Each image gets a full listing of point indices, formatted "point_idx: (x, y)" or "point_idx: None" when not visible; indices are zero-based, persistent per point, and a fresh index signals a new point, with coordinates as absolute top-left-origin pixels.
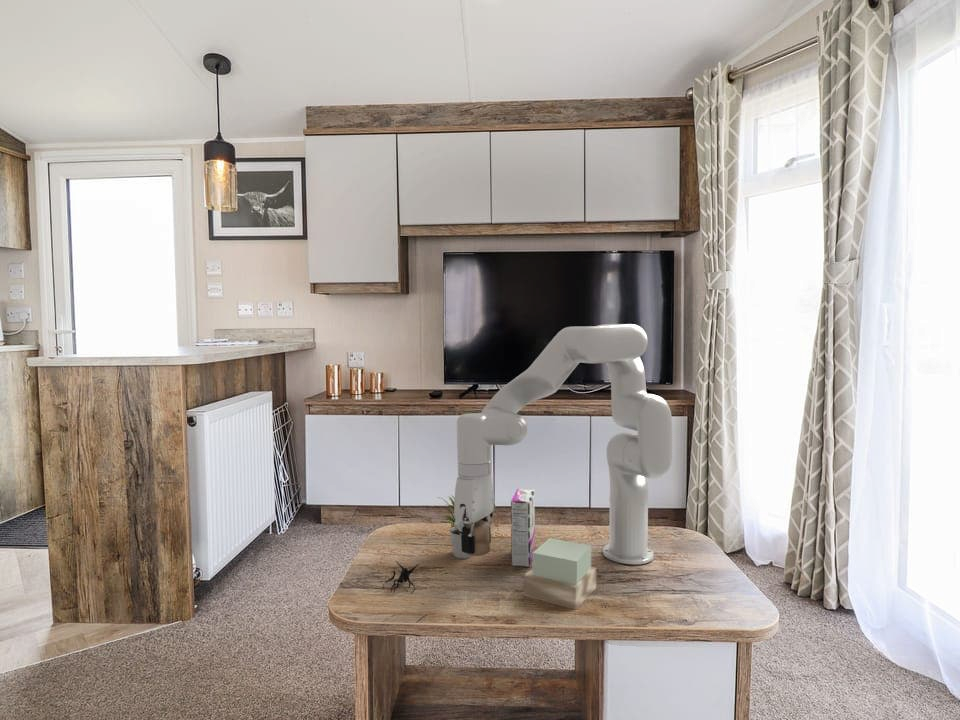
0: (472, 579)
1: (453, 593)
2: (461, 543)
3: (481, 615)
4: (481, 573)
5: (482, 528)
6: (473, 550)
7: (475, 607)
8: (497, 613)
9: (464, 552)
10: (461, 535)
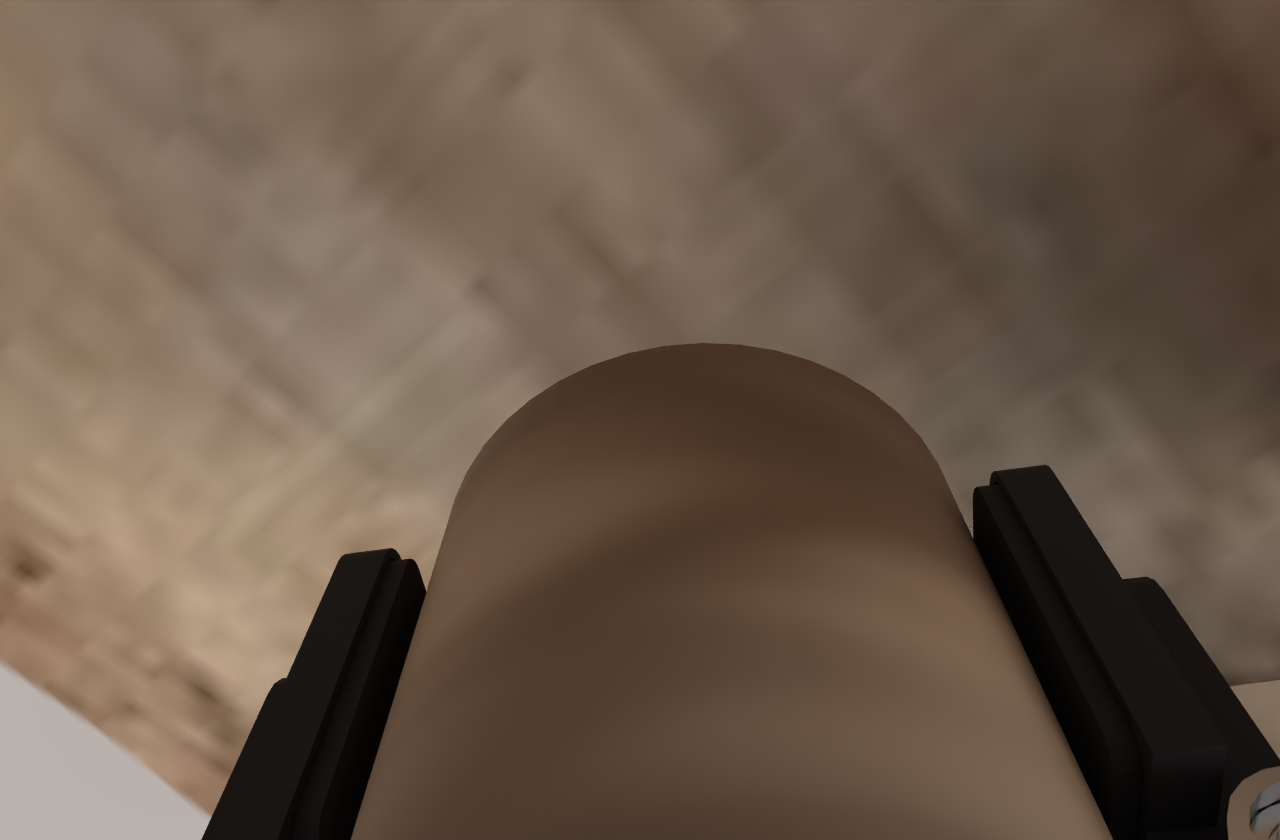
0: (777, 155)
1: (319, 247)
2: (295, 659)
3: (245, 709)
4: (1008, 118)
5: None
6: None
7: (299, 599)
8: None
9: (456, 498)
10: (230, 821)
